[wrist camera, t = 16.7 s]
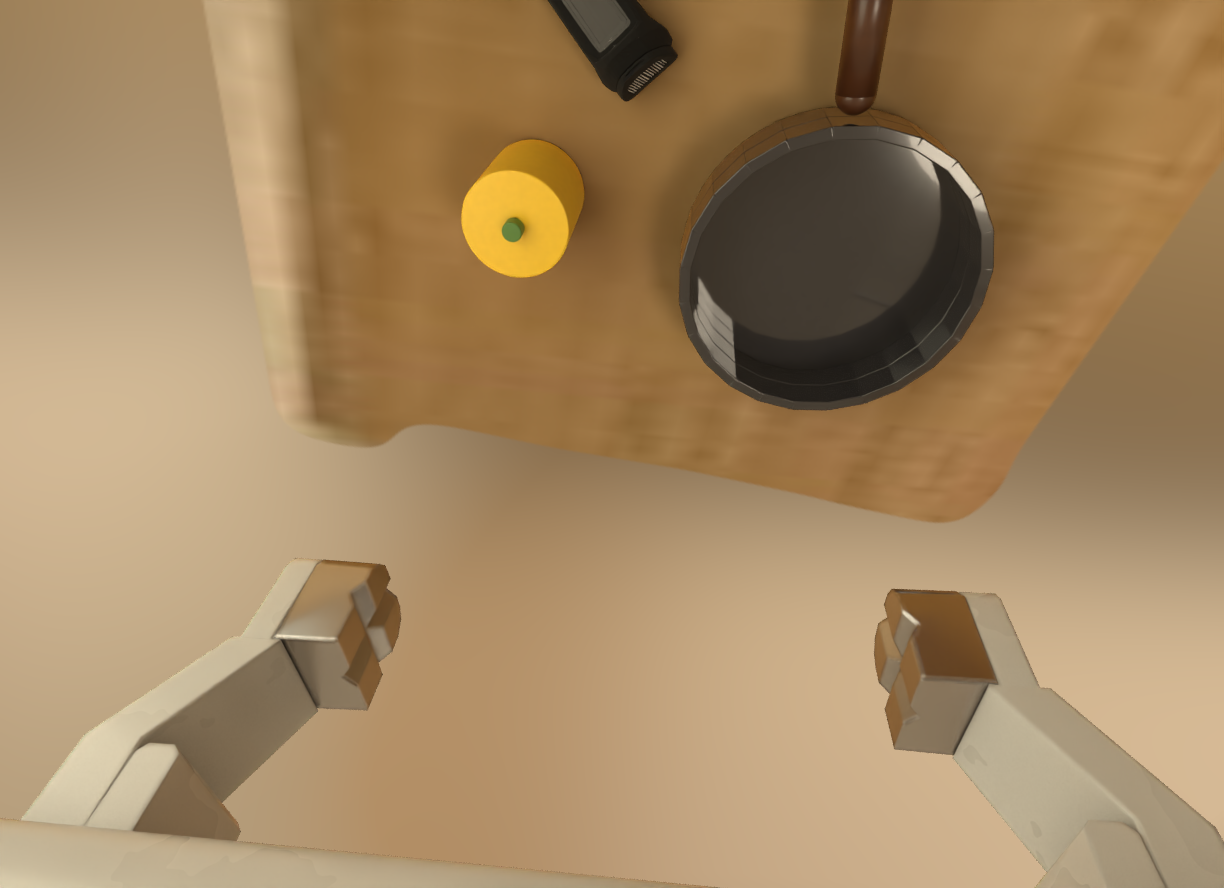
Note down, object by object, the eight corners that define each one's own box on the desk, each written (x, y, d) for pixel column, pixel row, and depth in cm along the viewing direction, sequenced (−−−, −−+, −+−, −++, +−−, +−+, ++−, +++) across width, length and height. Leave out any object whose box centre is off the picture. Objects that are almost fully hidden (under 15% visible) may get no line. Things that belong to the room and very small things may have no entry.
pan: (684, 108, 35) (682, 128, 32) (1008, 102, 34) (1039, 123, 31) (678, 371, 45) (676, 407, 42) (930, 377, 43) (948, 414, 40)
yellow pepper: (481, 139, 37) (446, 176, 32) (581, 138, 37) (561, 174, 32) (495, 237, 41) (466, 284, 36) (587, 237, 40) (570, 285, 35)
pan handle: (863, -136, 28) (872, -138, 26) (911, -139, 27) (922, -141, 26) (829, 111, 33) (835, 120, 32) (868, 110, 33) (876, 119, 31)
